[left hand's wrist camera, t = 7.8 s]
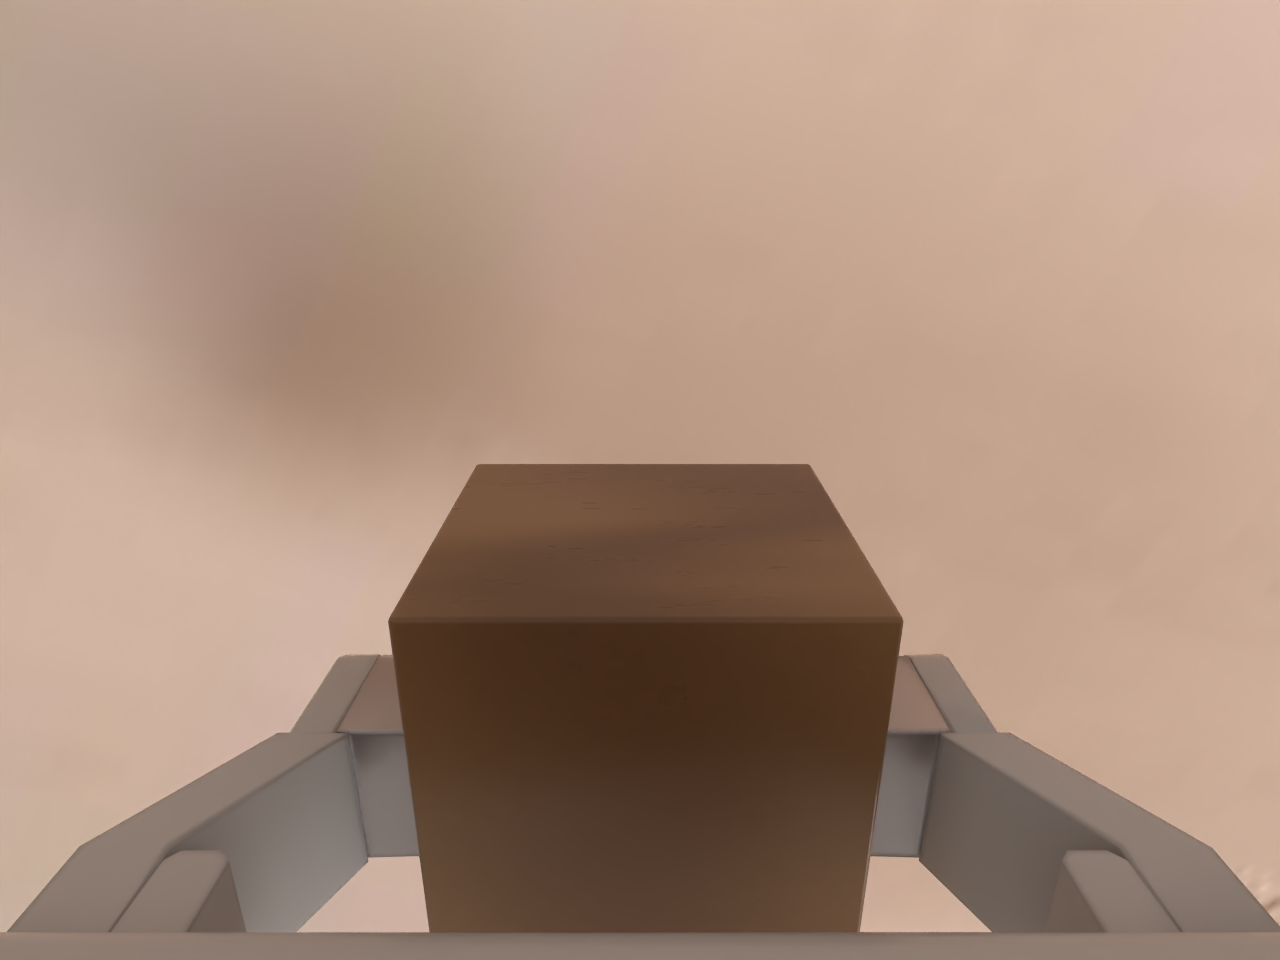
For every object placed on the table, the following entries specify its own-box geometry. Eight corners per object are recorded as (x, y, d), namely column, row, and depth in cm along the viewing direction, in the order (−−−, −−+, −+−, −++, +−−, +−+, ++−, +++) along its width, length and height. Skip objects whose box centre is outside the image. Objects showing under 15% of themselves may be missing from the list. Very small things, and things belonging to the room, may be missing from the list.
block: (810, 462, 11) (906, 618, 7) (786, 749, 13) (851, 1000, 9) (476, 462, 11) (386, 620, 7) (499, 748, 13) (436, 1000, 9)
